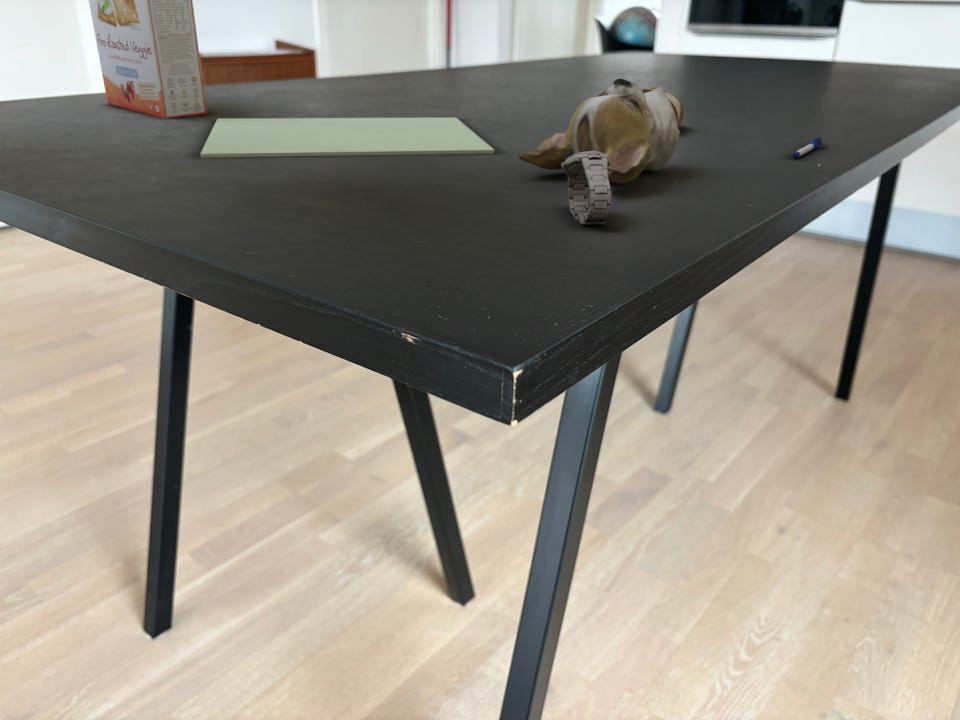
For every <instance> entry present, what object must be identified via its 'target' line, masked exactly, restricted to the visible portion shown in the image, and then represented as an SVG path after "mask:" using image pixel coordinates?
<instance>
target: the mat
mask: <svg viewBox="0 0 960 720" xmlns="http://www.w3.org/2000/svg"><path fill="white" fill-rule="evenodd" d="M464 154H465V155H469V154H470V155H471V154H473V155H475V154H495V149H494V148H493V147H492V146H491V145H490V144H488V143H487V142H486V141H485V140H484V139H482V137H480V136H478V134H477V133H475V132H474V131H473V130H471V128H469V127H468V126H467V125H466V124H465V123H463V122H462V121H461V120H460V119H458V117H271V118H269V117H268V118H266V117H264V118H263V117H261V118H259V117H257V118H256V117H254V118H248V117H246V118H245V117H244V118H241V117H240V118H237V117H236V118H217V119H216V121H215V123H214V125H213V127H212V129H211V131H210V133H209V135H208V137H207V139H206V141H205V143H204V145H203V148H202V150H201V151H200V153H199V155H200V159H202V158H259V157H260V158H261V157H263V158H267V157H334V156H337V157H339V156H340V157H341V156H342V157H343V156H400V155H402V156H406V155H407V156H408V155H411V156H412V155H464Z"/></svg>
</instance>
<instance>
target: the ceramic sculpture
mask: <svg viewBox="0 0 960 720" xmlns="http://www.w3.org/2000/svg"><path fill="white" fill-rule="evenodd" d="M656 88H657V89H655V90H653V91H651V92H647V93H643V91H642V90H641V89H642V88H641V87H640V86H639V85H638V84H636V83H635V82H631V81H630V80H627V79H625V78H616V79H615V80H613V82H612V84H611V85H610V86H609V87H608V88H607V92H606V94H605V95H601V96H598V95H594V96H591V97H589V98H586V99H585V100H584V101H582V102H581V103H580V104H579V105H578V106H577V108H576V109H575V111H574V113H573V115H572V117H571V119H570V123H569V126H568V128H567V129H566V131H562V132H559V131H558V132H555V133H553V135H551V136H550V137H548V138H545V139H543V140H542V141H541V142H540V143H539V144H538V147H535V148H534V149H532V151H529V152H528V151H524V152H521V153H519V154H518V155H517V156H518V158H519V160H521V161H523V162H525V163H528V164H531V165H532V166H533V165H534V166H536V167H539V168H540V169H545V170H551V171H559V170H564V169H563V168H562V162H565V161H566V159H567V158H569V157H570V156H572V155H574V154H577V153H580V152H587V151H597V152H602V153H604V154H606V155H607V156H608V158H609V161H610V165H609V167H608V168H607V170H608V180H609V182H611V183H614V184H627V183H630V182H632V181H634V180H635V179H637V177H638V176H640V174H641V173H642V171H643V172H644V171H658V170H660V169H662V168H663V167H664V166H666V165H668V163H669V162H670V161H671V158H673V155H674V153H675V152H676V149H677V145H678V143H679V139H680V134H681V132H680V130H679V127H677V121H676V116H675V113H674V110H673V108H672V105H671V102H670V101H669V99H668V98H667V96H666V92H667V91H666V90H665V88H664V87H663V86H659V87H656Z"/></svg>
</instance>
